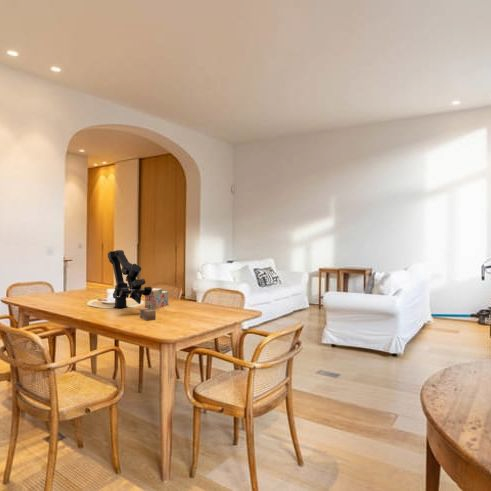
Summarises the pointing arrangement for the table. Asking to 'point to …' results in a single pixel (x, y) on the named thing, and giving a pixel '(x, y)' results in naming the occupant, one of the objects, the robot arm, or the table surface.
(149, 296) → the stack of blocks
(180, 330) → the table surface
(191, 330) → the table surface
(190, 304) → the table surface
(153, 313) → the walnut block
